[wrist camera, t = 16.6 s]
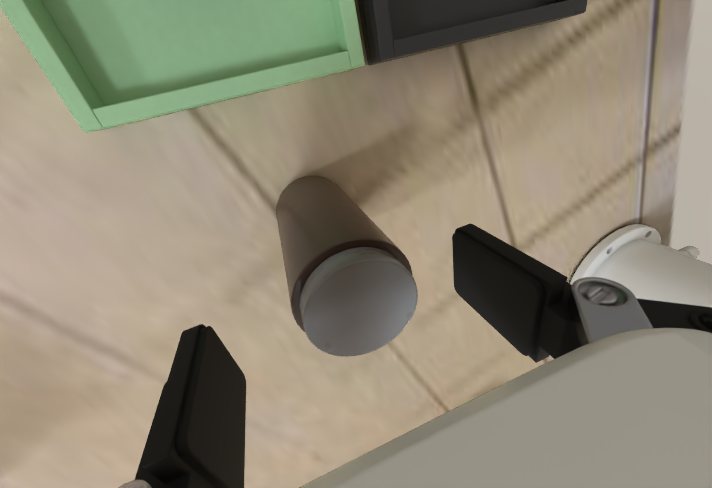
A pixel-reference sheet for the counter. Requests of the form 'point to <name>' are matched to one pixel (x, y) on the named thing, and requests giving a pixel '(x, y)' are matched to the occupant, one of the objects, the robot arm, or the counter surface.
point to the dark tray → (449, 22)
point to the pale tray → (180, 51)
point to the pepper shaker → (341, 270)
